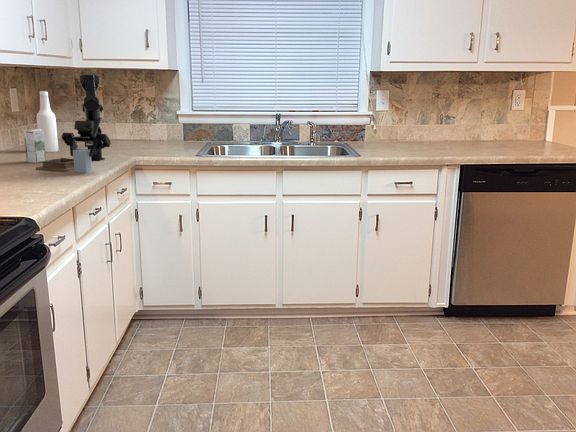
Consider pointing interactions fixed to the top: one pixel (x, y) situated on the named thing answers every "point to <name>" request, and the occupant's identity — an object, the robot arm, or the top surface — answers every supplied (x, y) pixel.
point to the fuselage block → (82, 161)
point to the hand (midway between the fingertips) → (80, 156)
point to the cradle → (58, 165)
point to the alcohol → (47, 123)
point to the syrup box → (34, 145)
